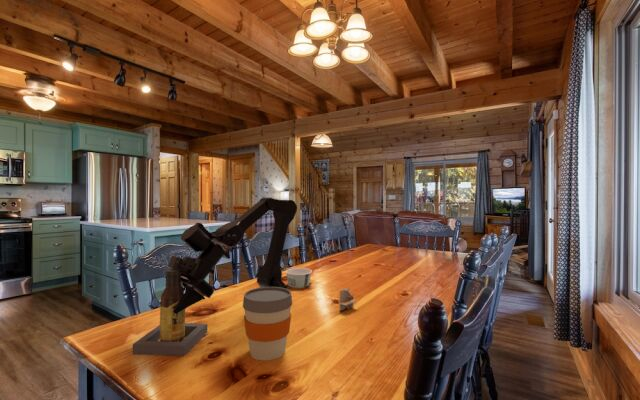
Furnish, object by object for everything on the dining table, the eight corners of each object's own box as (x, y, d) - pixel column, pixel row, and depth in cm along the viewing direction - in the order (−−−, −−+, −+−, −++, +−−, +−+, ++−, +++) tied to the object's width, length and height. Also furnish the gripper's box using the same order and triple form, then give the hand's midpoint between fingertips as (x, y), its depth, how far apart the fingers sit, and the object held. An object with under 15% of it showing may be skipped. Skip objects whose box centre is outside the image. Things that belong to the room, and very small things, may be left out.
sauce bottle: (175, 349, 81) (175, 273, 81) (154, 346, 82) (154, 272, 82) (190, 338, 88) (190, 267, 87) (170, 336, 89) (170, 266, 89)
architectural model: (356, 309, 111) (356, 289, 111) (345, 315, 106) (345, 293, 106) (349, 307, 114) (349, 287, 114) (337, 312, 108) (337, 291, 108)
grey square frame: (207, 332, 91) (207, 323, 91) (184, 355, 78) (184, 345, 78) (163, 330, 92) (163, 322, 92) (132, 353, 79) (132, 344, 79)
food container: (317, 284, 142) (317, 270, 142) (301, 291, 132) (301, 275, 132) (296, 280, 148) (296, 266, 148) (279, 286, 138) (279, 271, 138)
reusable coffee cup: (270, 370, 72) (270, 305, 71) (232, 355, 78) (232, 295, 78) (301, 347, 82) (301, 291, 82) (265, 336, 89) (266, 284, 89)
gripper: (173, 241, 94) (132, 285, 86) (202, 248, 81) (158, 300, 73) (198, 263, 100) (162, 306, 92) (229, 273, 87) (191, 324, 79)
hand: (167, 308), depth 84 cm, fingers open, 8 cm apart
